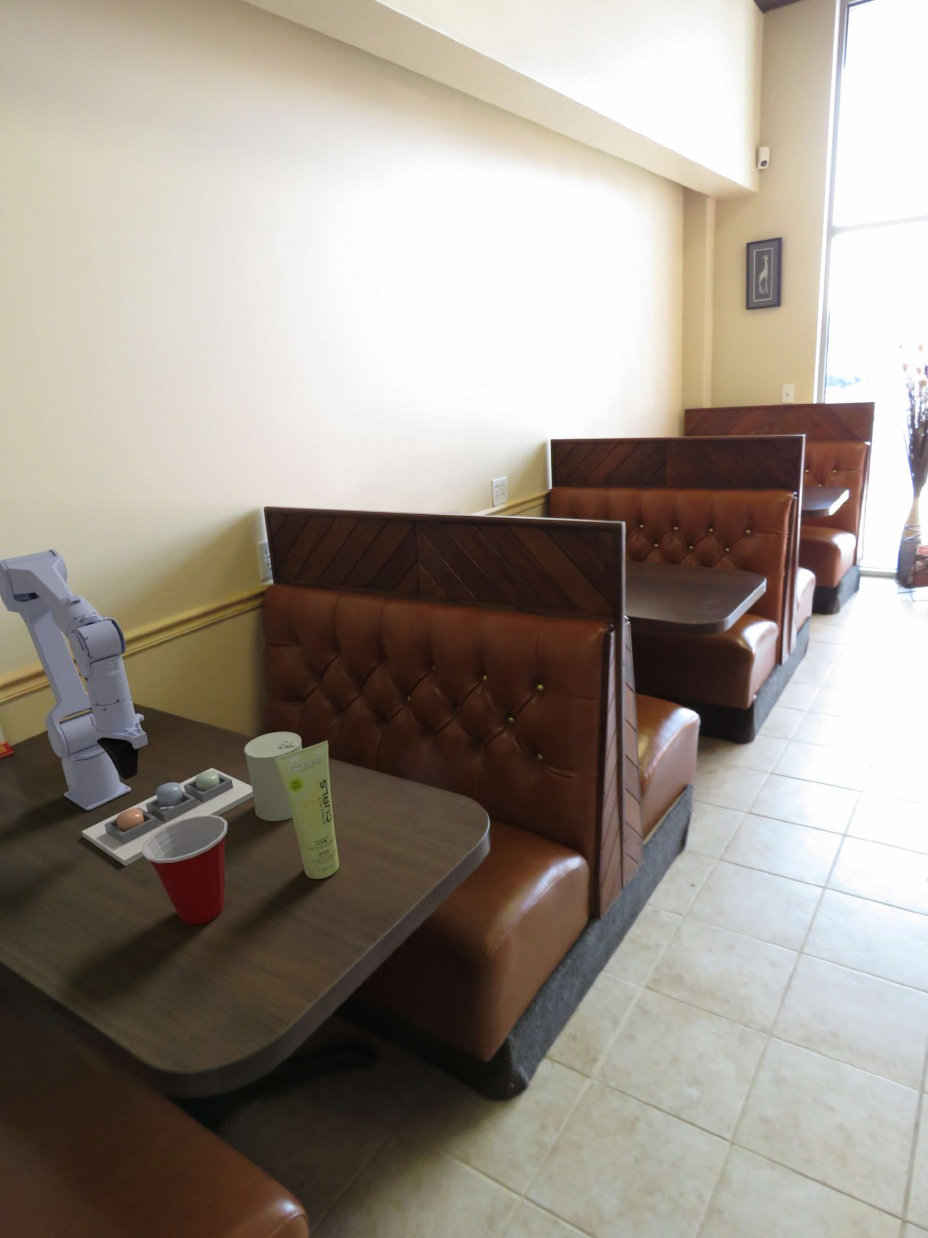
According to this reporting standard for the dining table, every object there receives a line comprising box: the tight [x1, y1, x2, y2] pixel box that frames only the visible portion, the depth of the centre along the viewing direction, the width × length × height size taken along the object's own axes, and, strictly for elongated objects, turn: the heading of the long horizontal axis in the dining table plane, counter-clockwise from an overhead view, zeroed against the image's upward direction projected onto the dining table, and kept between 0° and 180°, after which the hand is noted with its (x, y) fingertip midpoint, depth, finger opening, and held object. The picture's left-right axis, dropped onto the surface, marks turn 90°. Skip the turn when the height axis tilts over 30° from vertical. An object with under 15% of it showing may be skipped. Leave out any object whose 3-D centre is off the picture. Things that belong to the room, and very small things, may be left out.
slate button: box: [155, 781, 183, 807], centre depth 124 cm, size 4×4×2 cm
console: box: [81, 767, 254, 867], centre depth 125 cm, size 14×24×3 cm, turn 141°
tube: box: [275, 740, 340, 880], centre depth 104 cm, size 6×5×20 cm
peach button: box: [116, 808, 144, 832], centre depth 119 cm, size 4×4×2 cm
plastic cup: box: [141, 815, 228, 926], centre depth 99 cm, size 11×11×12 cm
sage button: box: [195, 771, 220, 792], centre depth 129 cm, size 4×4×2 cm
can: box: [243, 731, 303, 822], centre depth 123 cm, size 9×9×12 cm
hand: (129, 776), depth 119 cm, fingers closed
